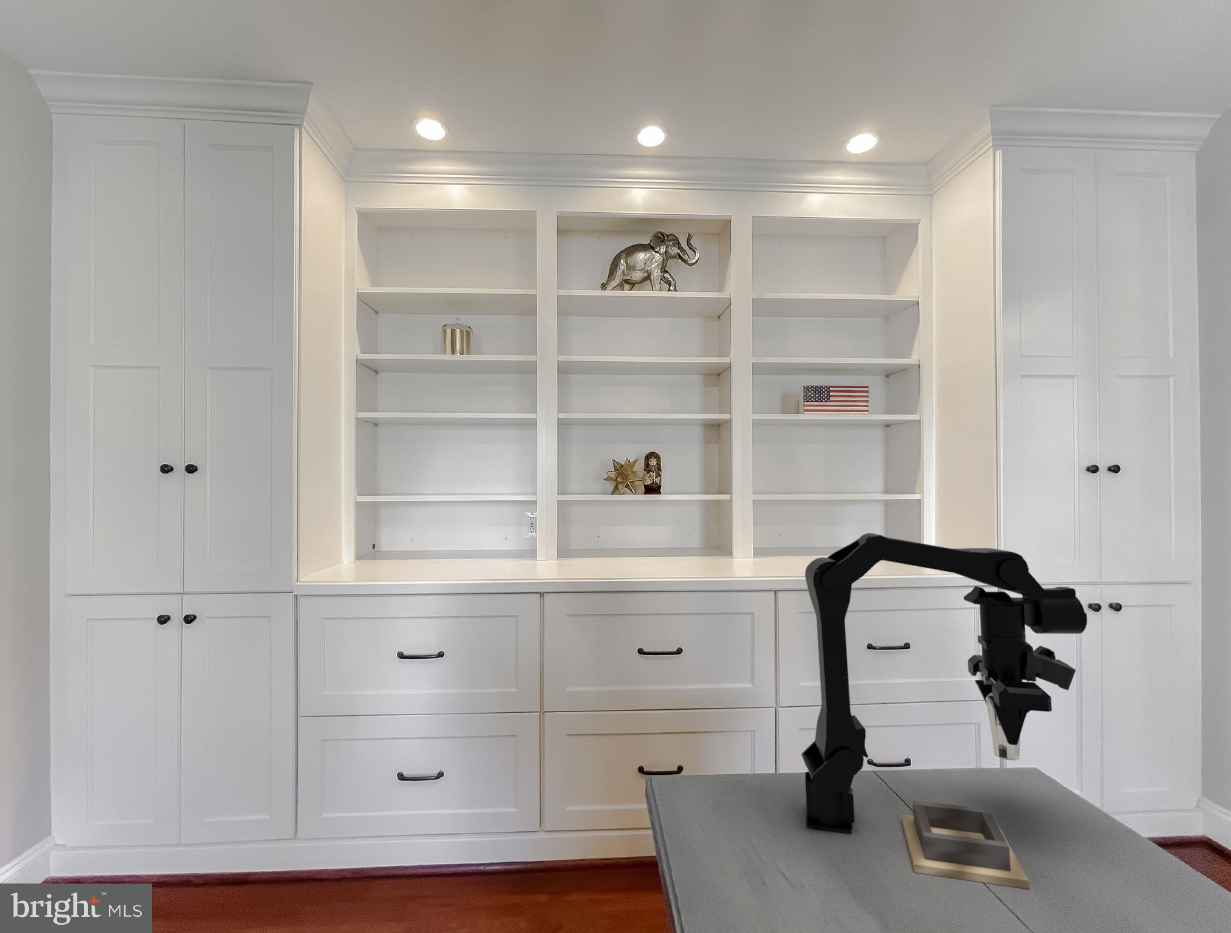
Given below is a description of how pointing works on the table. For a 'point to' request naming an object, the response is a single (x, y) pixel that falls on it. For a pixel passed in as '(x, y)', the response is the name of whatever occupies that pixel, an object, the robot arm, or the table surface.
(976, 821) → the dock
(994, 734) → the milkshake
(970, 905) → the table surface
